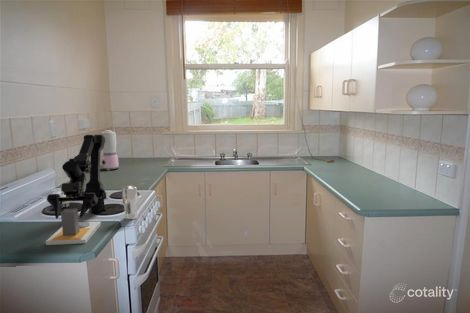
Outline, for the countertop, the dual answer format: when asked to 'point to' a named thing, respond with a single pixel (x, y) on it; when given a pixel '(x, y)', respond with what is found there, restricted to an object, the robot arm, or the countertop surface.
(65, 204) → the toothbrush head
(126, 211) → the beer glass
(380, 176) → the countertop surface
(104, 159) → the blender
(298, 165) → the countertop surface
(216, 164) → the countertop surface
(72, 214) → the chute block
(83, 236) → the white plate with inlay
